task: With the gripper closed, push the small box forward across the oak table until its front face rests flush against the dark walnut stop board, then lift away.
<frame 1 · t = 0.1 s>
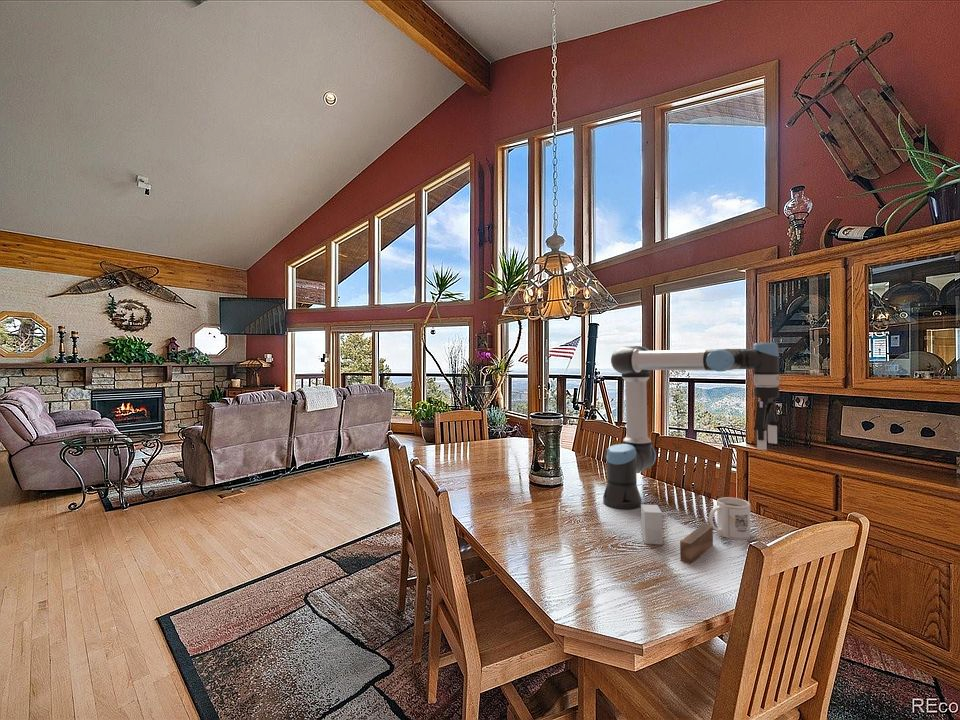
hand: (767, 446, 159), 28 cm above the table, fingers open, 13 cm apart
board: (697, 552, 139), on the table
mug: (730, 534, 153), on the table
small box: (652, 540, 150), on the table
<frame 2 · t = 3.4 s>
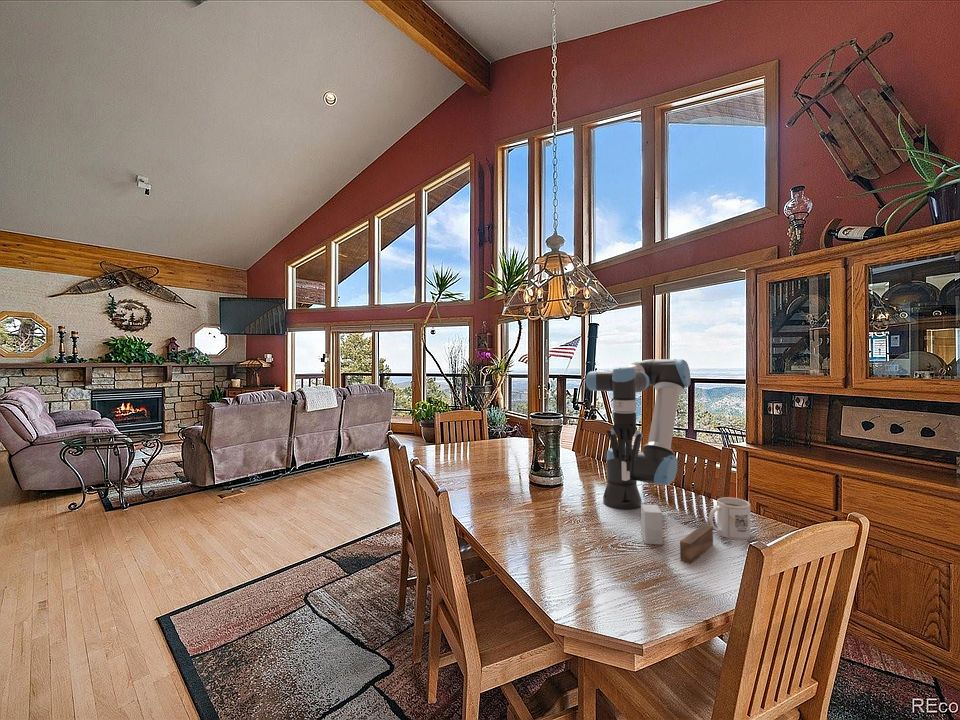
hand: (625, 479, 156), 18 cm above the table, fingers closed
nothing on the table moved.
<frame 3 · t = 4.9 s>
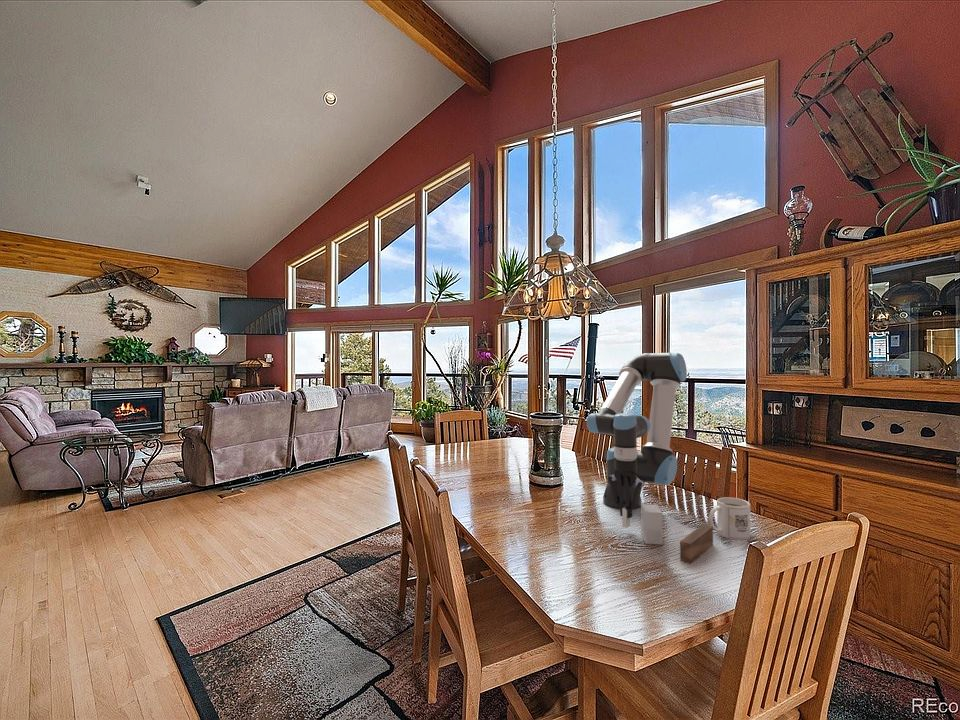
hand: (626, 526, 156), 2 cm above the table, fingers closed
nothing on the table moved.
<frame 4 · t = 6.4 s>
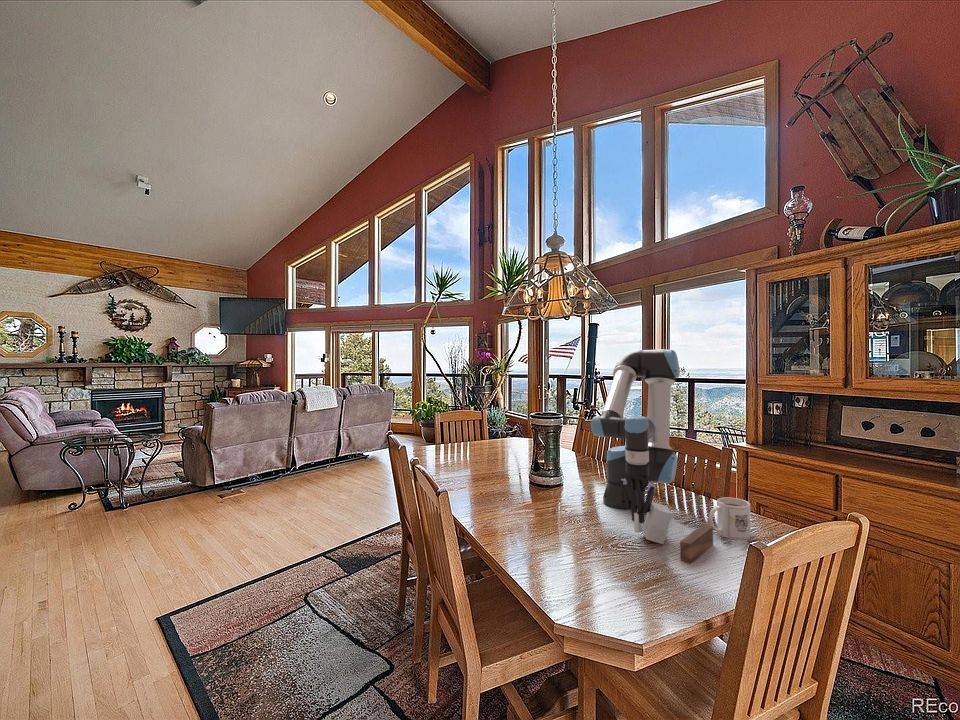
hand: (638, 531, 153), 2 cm above the table, fingers closed
small box: (652, 537, 150), point 1 cm above the table, touching gripper, hand
everything else where it was.
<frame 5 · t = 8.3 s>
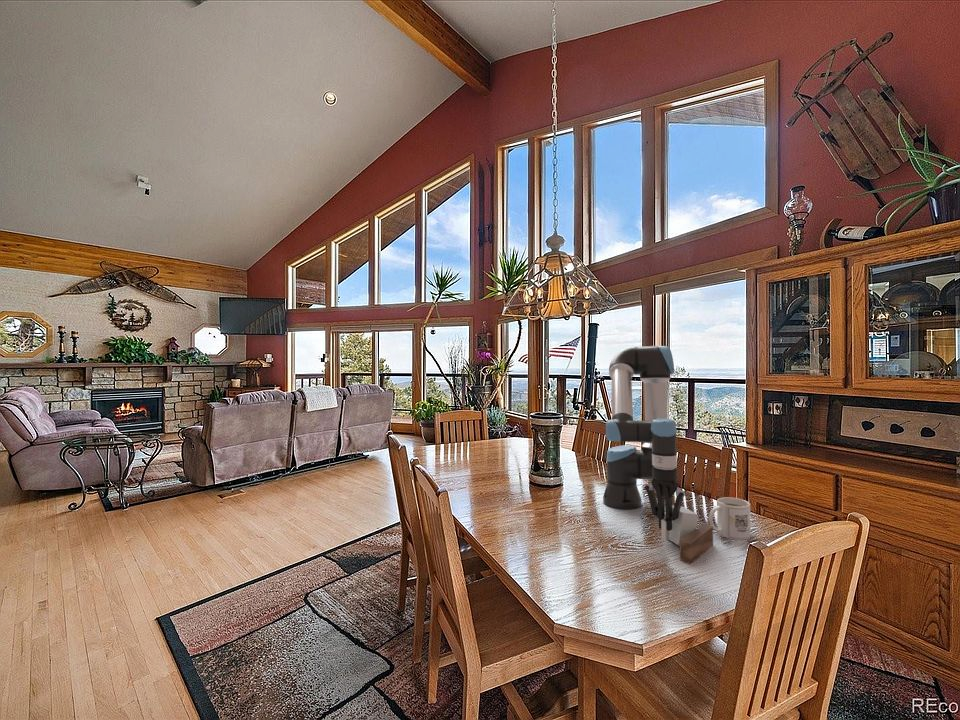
hand: (665, 539, 146), 1 cm above the table, fingers closed
small box: (678, 542, 146), on the table, touching gripper, hand
everything else where it was.
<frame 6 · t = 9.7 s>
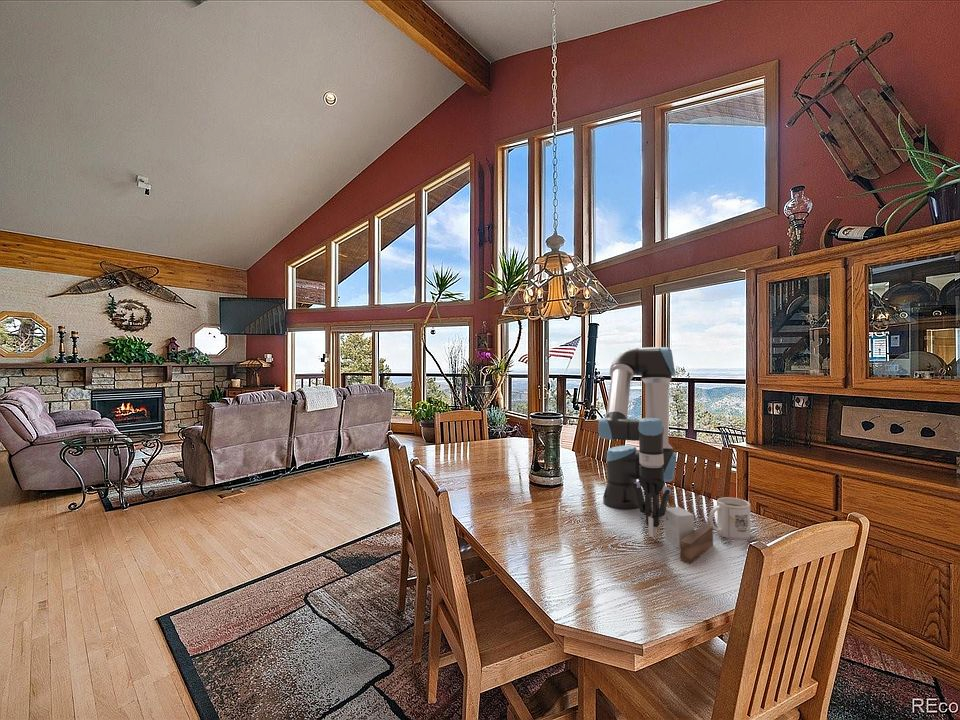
hand: (652, 535, 150), 1 cm above the table, fingers closed
small box: (679, 543, 146), on the table
everything else where it was.
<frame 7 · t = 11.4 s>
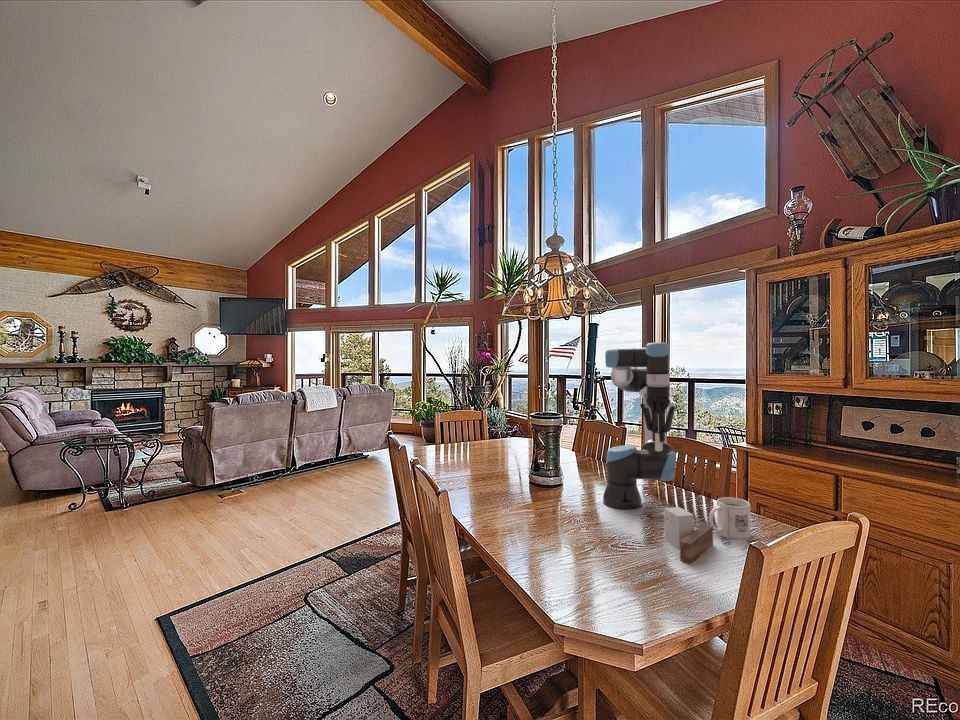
hand: (658, 450, 162), 27 cm above the table, fingers closed
nothing on the table moved.
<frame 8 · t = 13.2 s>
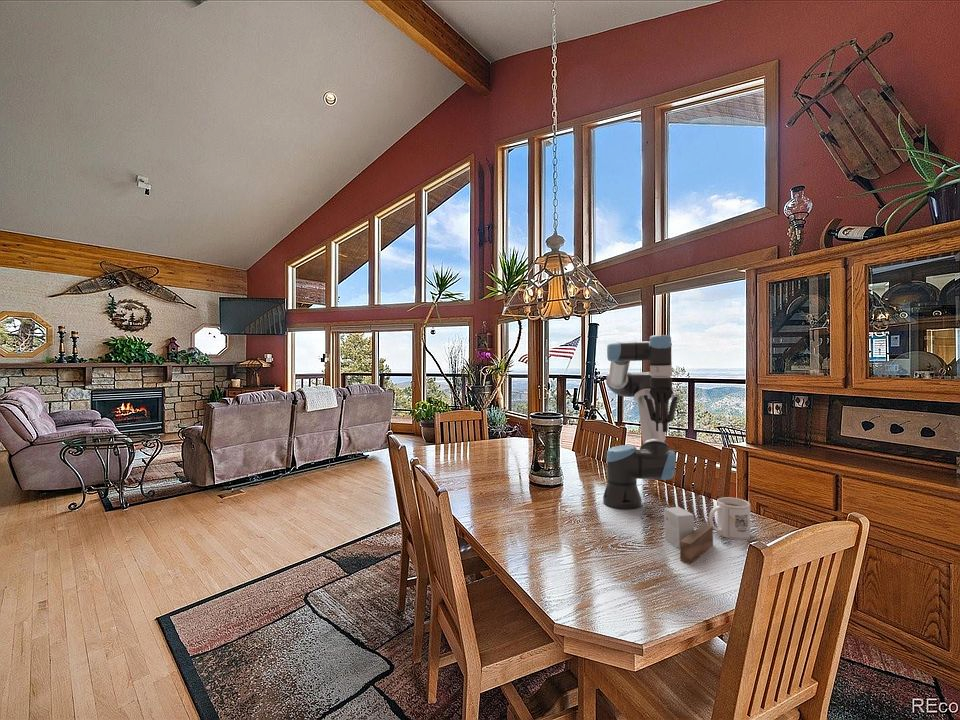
hand: (662, 440, 167), 29 cm above the table, fingers closed
nothing on the table moved.
at the end: small box inside the target area on the table beside the board (4.1 cm from its centre), on the table; small box tilted 0° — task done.
